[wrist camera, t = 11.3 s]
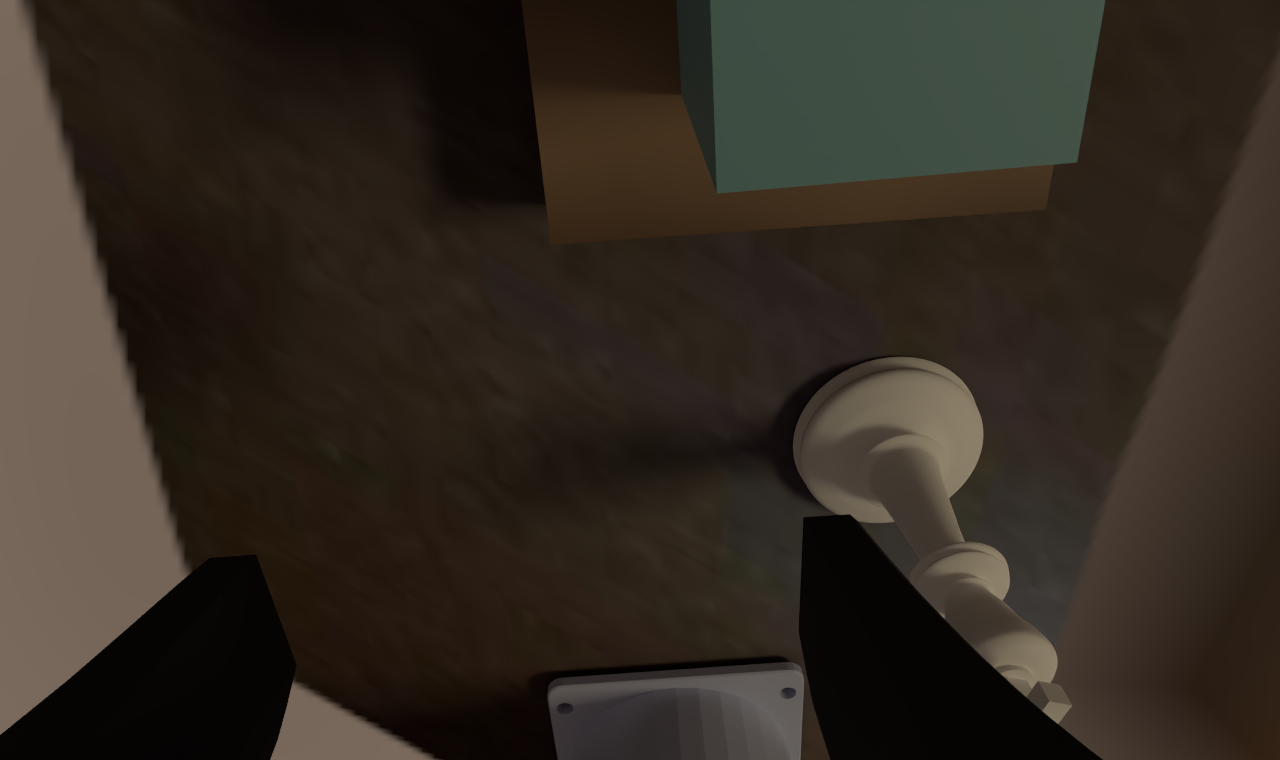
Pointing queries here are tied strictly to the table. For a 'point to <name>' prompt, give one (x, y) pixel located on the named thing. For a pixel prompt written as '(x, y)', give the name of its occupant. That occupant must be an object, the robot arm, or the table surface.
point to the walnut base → (688, 143)
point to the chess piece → (922, 500)
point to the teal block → (883, 86)
